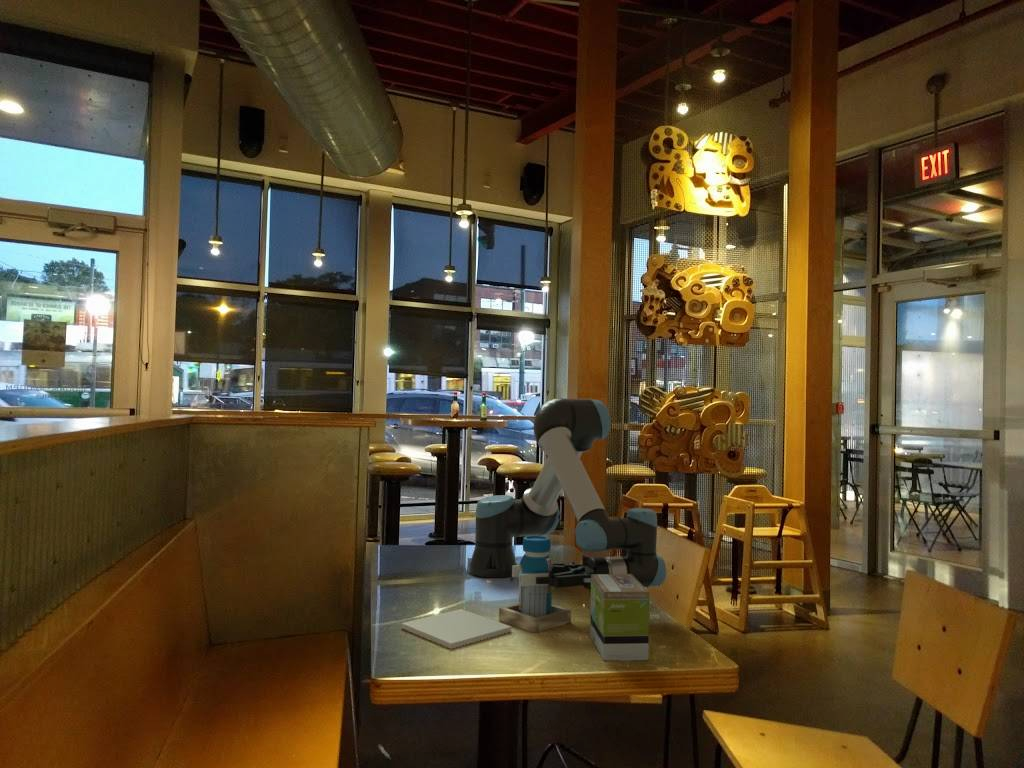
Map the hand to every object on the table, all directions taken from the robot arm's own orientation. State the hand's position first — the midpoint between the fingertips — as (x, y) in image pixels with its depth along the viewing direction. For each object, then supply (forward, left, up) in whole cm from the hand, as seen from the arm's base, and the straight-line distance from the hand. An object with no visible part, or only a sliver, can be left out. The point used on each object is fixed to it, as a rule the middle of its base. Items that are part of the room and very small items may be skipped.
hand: (517, 575), depth 172 cm
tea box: (+27, +4, -12) cm, 30 cm away
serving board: (-5, -15, -11) cm, 19 cm away
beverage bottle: (+2, +4, -11) cm, 12 cm away
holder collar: (+2, +4, -11) cm, 12 cm away
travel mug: (-11, +43, -11) cm, 46 cm away
